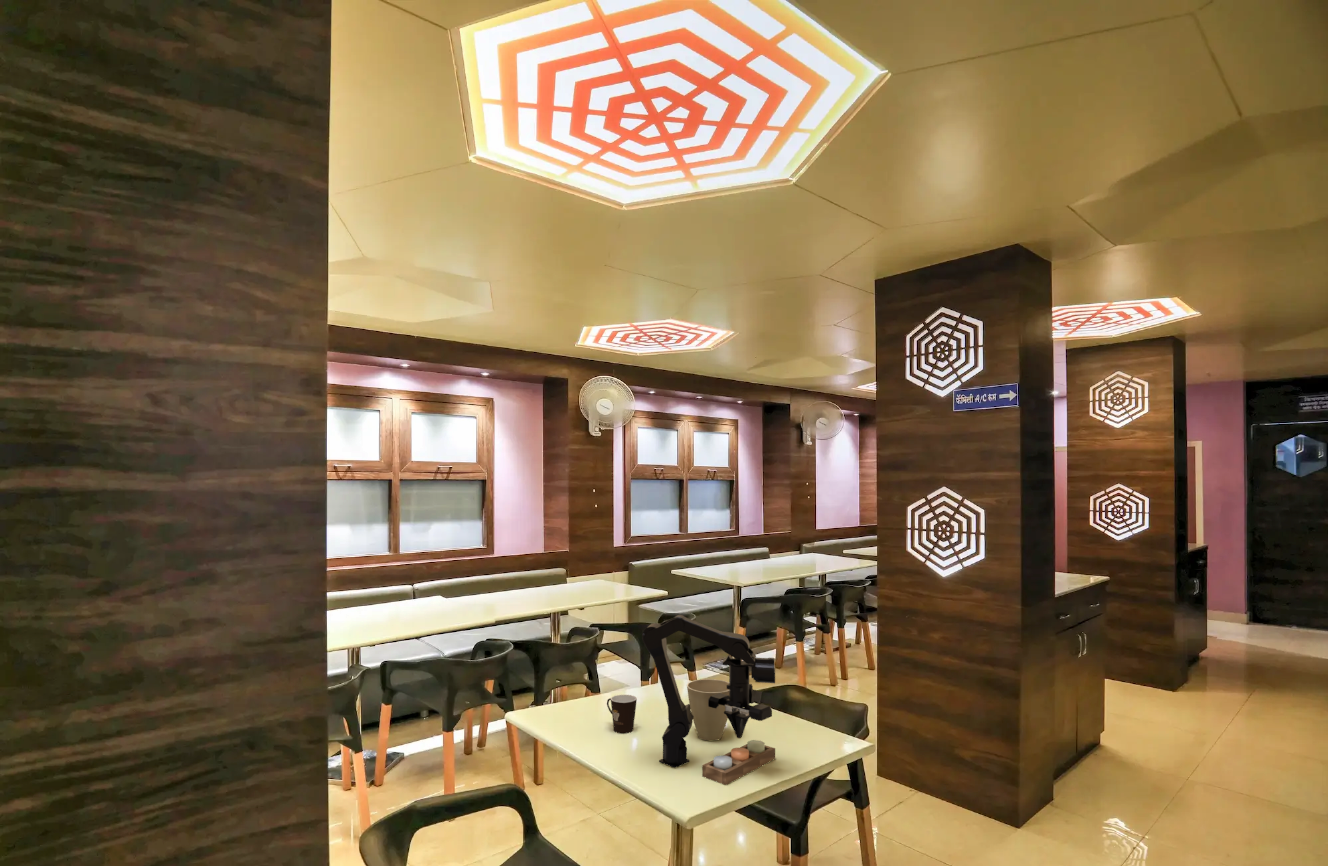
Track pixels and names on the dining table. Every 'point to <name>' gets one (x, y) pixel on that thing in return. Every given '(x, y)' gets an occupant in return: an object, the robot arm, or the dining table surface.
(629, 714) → the coffee mug
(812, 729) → the dining table surface
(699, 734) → the plant pot
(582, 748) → the dining table surface
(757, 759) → the brown wooden flat tray
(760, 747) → the sage button
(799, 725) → the dining table surface
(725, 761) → the slate button
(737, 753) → the terracotta button
